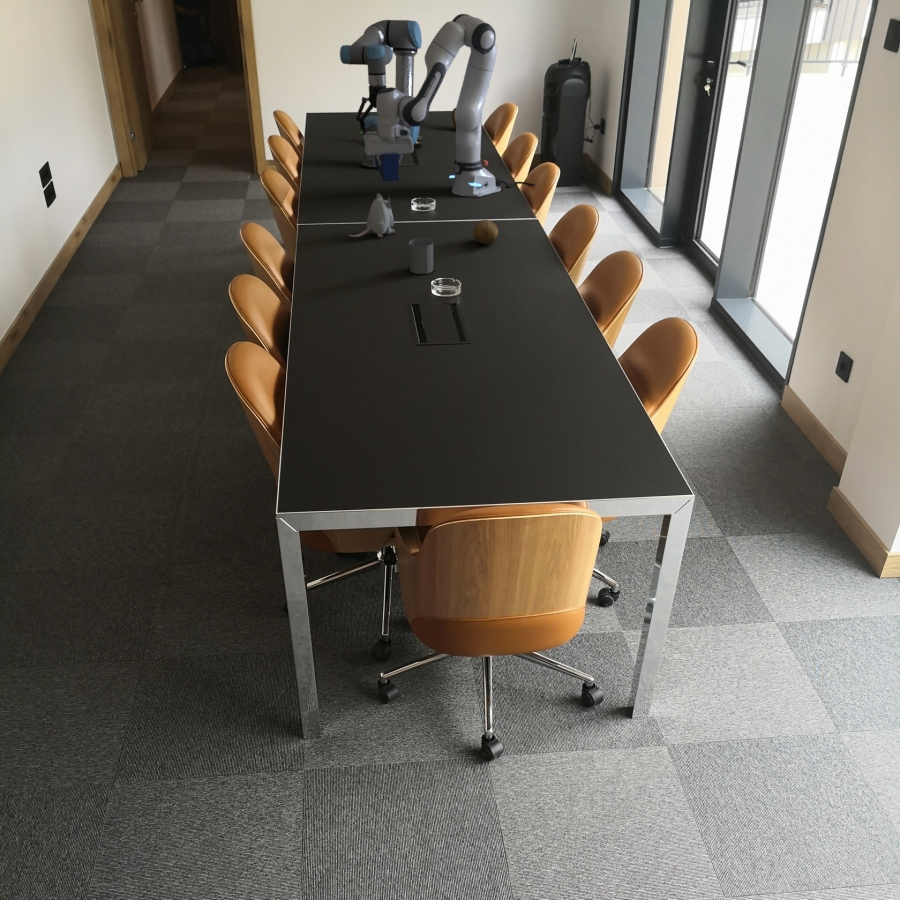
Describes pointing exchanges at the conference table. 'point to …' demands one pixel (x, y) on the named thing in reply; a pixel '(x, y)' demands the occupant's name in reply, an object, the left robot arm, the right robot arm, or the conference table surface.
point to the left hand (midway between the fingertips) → (379, 136)
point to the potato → (485, 232)
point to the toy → (379, 218)
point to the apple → (454, 118)
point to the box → (388, 166)
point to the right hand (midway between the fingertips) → (389, 165)
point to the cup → (421, 256)
